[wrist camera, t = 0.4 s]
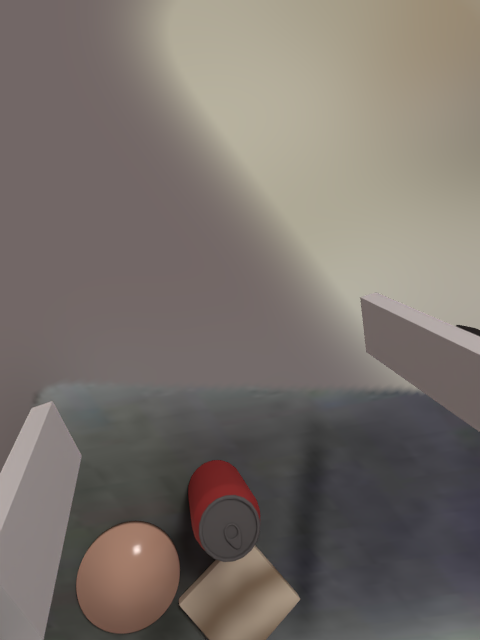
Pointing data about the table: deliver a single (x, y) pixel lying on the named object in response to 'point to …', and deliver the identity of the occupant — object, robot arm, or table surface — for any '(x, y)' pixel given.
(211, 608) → the square tan board
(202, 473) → the beer can
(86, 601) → the coaster
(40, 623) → the robot arm
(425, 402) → the table surface
